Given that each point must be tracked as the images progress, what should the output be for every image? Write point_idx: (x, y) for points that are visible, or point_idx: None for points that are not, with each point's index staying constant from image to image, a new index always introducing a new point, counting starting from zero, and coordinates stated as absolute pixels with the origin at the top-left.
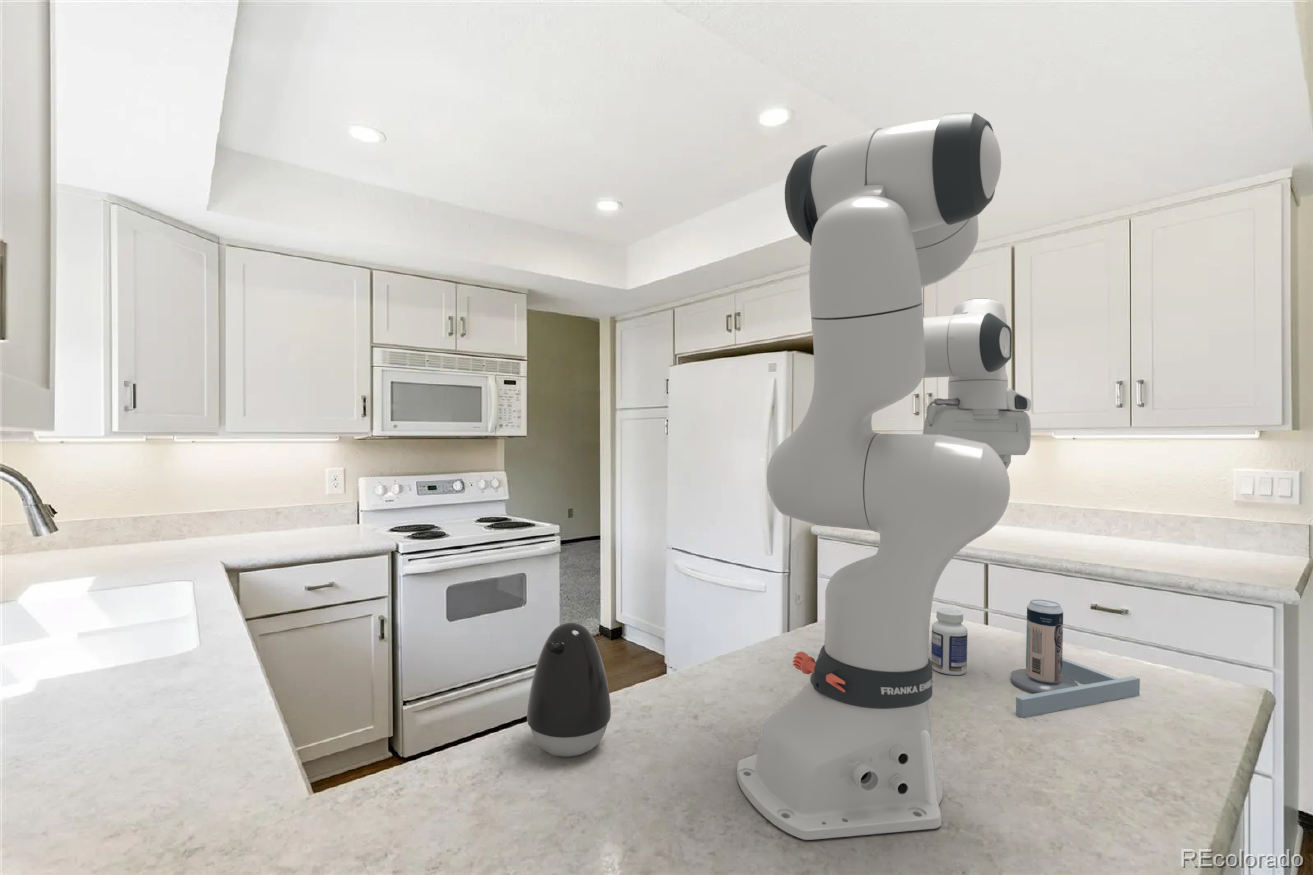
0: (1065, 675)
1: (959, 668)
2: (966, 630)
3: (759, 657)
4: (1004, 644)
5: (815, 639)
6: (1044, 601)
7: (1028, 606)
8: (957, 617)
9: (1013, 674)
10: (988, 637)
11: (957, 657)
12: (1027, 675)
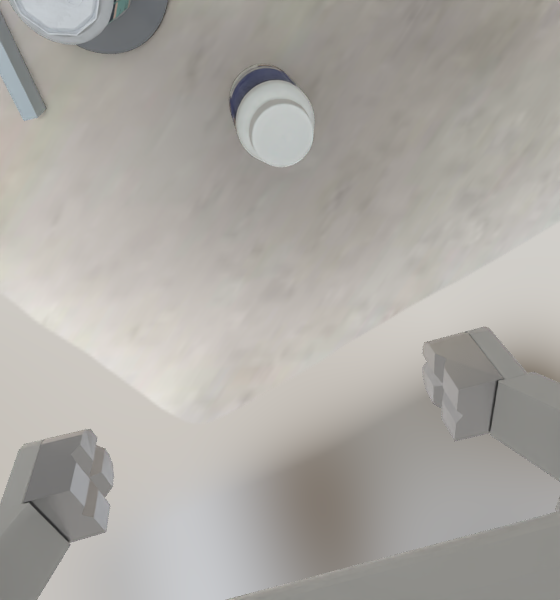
0: (7, 28)
1: (263, 65)
2: (249, 95)
3: (556, 190)
4: (54, 233)
5: (414, 267)
6: (40, 16)
7: (107, 13)
8: (282, 101)
9: (153, 21)
10: (69, 271)
11: (271, 70)
12: None
